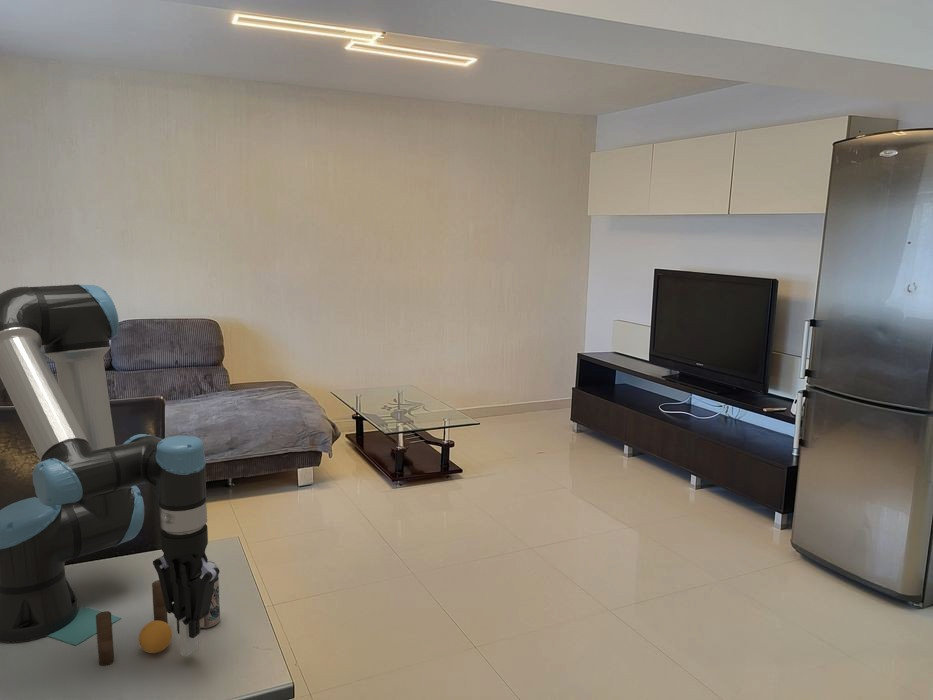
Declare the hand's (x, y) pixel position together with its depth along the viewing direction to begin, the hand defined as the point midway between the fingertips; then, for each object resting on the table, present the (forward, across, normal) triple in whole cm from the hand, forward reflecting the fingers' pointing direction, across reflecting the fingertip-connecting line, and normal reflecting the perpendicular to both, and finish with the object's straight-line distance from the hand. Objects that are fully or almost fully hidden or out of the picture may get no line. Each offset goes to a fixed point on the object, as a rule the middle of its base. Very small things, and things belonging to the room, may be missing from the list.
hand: (189, 651), depth 124 cm
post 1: (+2, -13, -6) cm, 15 cm away
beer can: (+2, -6, +11) cm, 12 cm away
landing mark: (+2, -27, 0) cm, 27 cm away
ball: (-1, -8, 0) cm, 8 cm away
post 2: (+2, -13, +6) cm, 15 cm away
